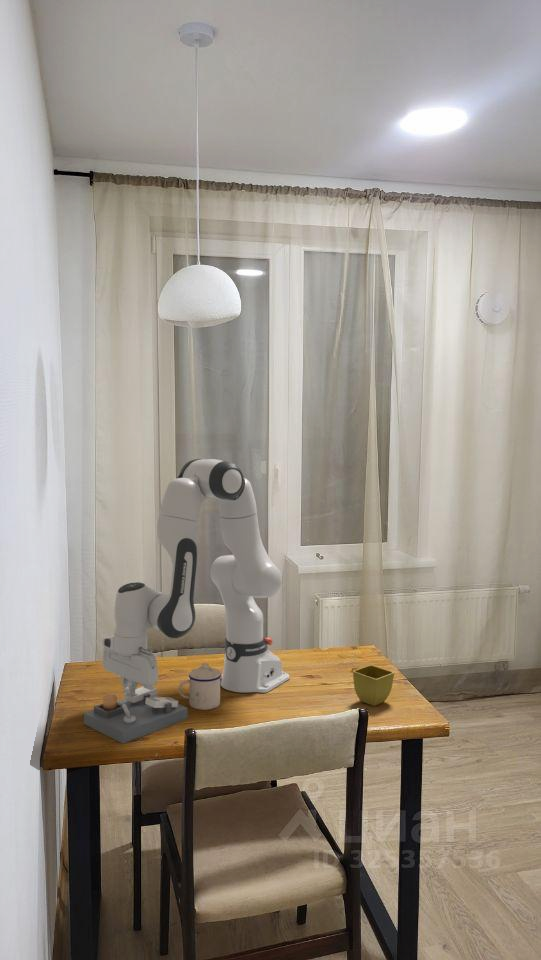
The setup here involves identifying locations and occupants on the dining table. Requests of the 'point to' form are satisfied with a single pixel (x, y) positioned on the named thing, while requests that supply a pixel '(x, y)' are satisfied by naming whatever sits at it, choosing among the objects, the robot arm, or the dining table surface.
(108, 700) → the button
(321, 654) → the dining table surface
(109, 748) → the dining table surface
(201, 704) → the teacup with lid
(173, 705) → the rocker
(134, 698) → the rocker
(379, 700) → the flower pot
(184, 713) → the panel
